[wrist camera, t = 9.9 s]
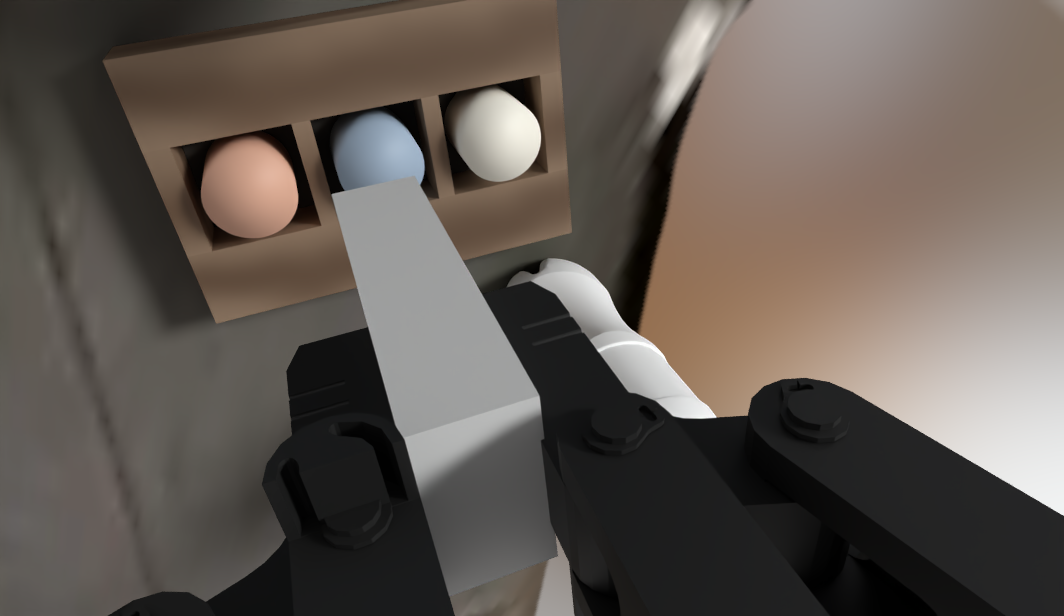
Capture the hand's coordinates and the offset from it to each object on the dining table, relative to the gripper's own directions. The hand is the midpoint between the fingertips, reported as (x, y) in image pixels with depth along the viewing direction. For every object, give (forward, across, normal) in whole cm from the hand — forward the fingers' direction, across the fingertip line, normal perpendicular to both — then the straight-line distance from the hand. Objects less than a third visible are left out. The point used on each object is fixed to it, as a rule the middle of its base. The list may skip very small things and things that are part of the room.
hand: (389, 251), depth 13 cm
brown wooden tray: (+26, +2, -7) cm, 27 cm away
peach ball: (+26, -4, -7) cm, 28 cm away
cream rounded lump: (+26, +8, -7) cm, 29 cm away
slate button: (+26, +2, -7) cm, 27 cm away
